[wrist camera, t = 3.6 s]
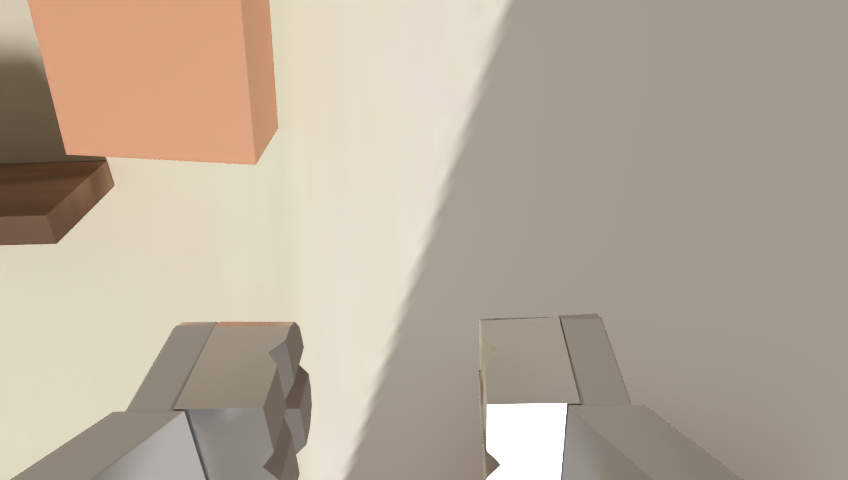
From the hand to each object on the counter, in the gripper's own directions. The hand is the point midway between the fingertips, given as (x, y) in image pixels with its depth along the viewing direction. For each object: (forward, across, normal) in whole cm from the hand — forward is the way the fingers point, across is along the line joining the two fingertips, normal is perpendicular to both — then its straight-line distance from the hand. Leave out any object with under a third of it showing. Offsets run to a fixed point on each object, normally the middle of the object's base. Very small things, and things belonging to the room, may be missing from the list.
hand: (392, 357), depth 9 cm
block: (+19, +10, 0) cm, 22 cm away
